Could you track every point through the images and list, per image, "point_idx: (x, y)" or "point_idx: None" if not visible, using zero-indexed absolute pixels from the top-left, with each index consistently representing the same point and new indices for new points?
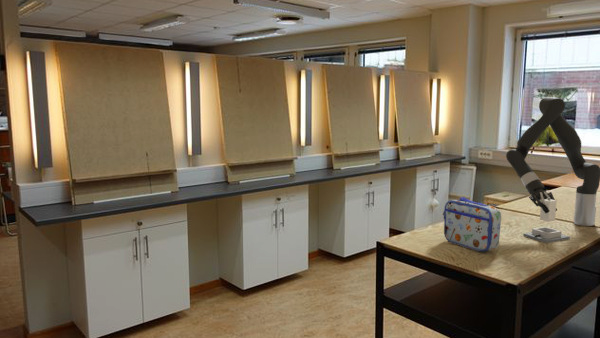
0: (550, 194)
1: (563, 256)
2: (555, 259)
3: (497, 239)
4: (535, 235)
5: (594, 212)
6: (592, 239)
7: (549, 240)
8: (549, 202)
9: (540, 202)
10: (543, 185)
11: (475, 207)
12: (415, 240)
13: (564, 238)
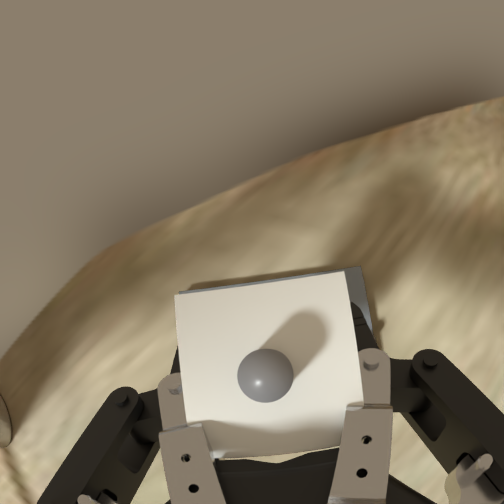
0: (80, 497)
1: (395, 127)
2: (433, 120)
3: None
4: (374, 337)
5: None
6: (102, 256)
7: (339, 269)
8: (342, 280)
9: (431, 360)
10: None
11: None
12: None
13: (221, 287)
